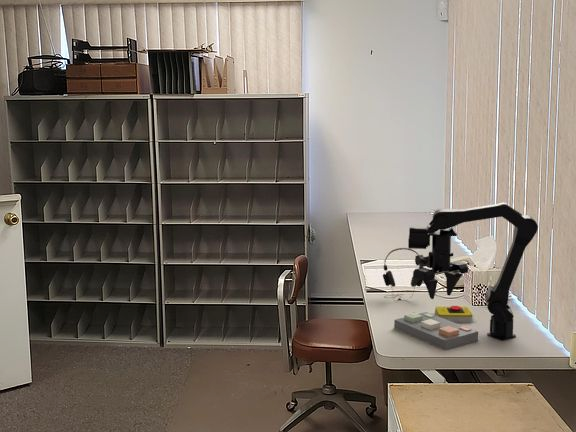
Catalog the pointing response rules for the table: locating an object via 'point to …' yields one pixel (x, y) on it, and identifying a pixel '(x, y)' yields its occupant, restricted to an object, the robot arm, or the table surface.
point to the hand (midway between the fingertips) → (440, 297)
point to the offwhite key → (430, 324)
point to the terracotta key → (448, 331)
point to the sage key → (413, 317)
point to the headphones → (390, 280)
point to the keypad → (437, 332)
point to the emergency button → (455, 314)
